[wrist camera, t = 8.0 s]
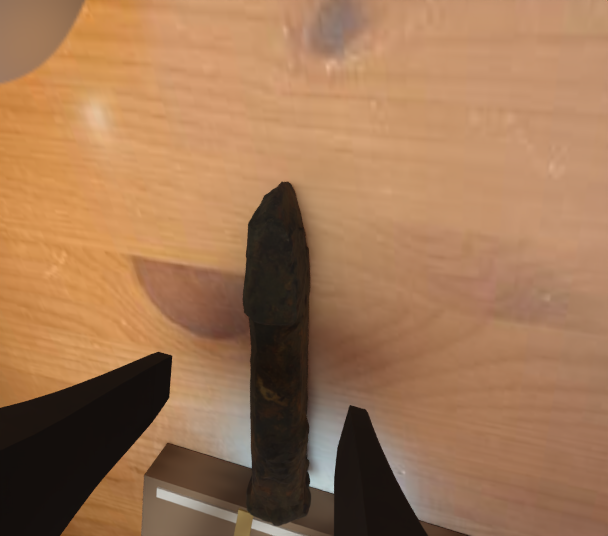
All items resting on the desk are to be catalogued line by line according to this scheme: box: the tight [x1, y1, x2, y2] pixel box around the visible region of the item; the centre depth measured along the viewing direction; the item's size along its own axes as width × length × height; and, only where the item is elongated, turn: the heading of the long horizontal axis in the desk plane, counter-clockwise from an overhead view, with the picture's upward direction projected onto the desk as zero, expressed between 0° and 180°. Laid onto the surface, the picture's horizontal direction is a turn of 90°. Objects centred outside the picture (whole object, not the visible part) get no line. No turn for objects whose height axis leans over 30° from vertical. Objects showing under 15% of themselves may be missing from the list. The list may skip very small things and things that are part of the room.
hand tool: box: [243, 182, 311, 526], centre depth 16 cm, size 19×4×5 cm, turn 175°
